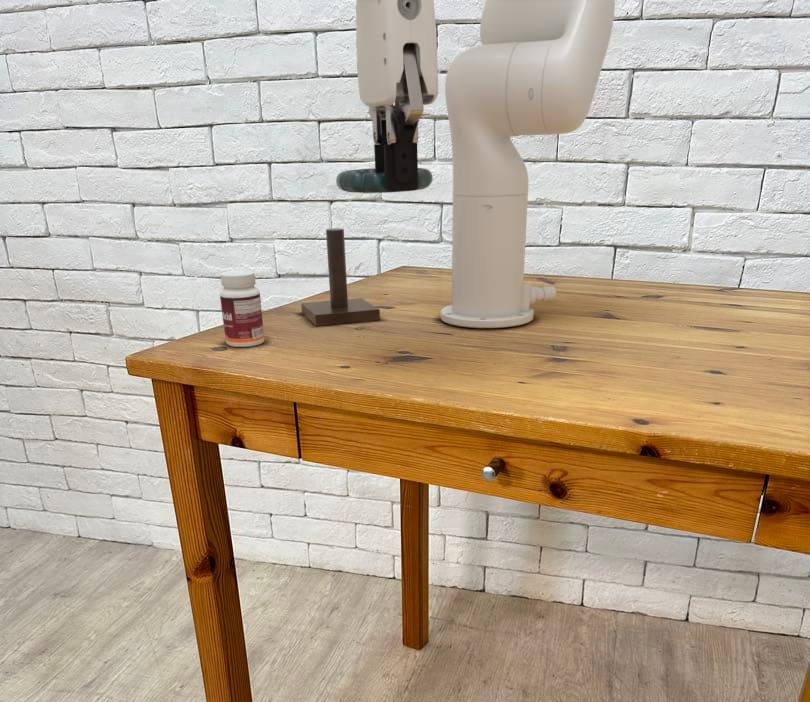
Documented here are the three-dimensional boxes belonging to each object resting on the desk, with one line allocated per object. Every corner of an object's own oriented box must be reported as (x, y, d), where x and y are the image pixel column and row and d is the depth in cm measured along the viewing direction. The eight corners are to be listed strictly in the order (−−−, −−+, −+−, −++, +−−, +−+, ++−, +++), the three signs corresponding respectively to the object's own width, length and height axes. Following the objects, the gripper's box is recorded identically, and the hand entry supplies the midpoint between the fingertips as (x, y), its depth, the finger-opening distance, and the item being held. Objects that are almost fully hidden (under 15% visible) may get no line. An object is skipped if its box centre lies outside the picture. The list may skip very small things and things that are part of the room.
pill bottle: (222, 341, 96) (213, 271, 93) (259, 336, 98) (252, 268, 94) (230, 349, 93) (221, 277, 89) (269, 344, 94) (261, 273, 90)
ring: (412, 184, 84) (412, 165, 83) (445, 189, 76) (445, 169, 75) (327, 189, 81) (326, 170, 81) (353, 195, 74) (351, 174, 73)
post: (361, 308, 113) (358, 224, 108) (380, 320, 105) (376, 230, 100) (301, 313, 110) (294, 228, 105) (316, 326, 103) (309, 234, 98)
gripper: (466, -59, 61) (464, 193, 70) (399, -26, 74) (405, 182, 83) (376, -62, 59) (386, 198, 68) (324, -28, 72) (338, 186, 81)
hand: (396, 187), depth 76 cm, fingers closed on ring, 2 cm apart
